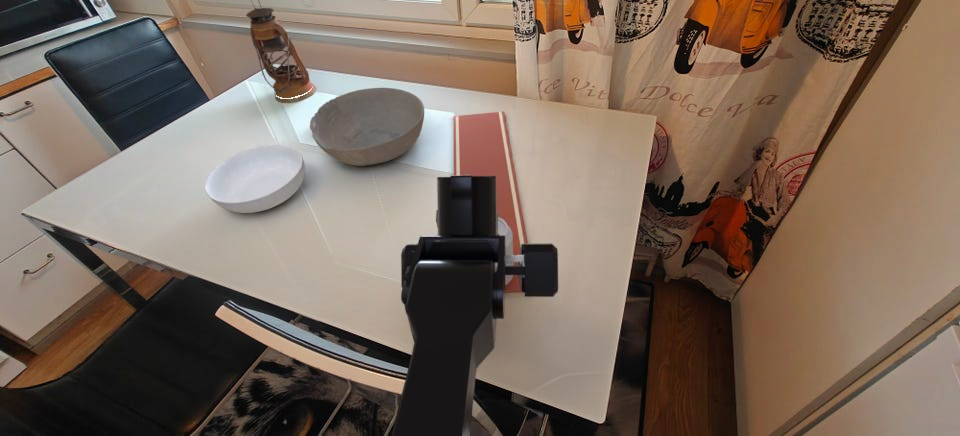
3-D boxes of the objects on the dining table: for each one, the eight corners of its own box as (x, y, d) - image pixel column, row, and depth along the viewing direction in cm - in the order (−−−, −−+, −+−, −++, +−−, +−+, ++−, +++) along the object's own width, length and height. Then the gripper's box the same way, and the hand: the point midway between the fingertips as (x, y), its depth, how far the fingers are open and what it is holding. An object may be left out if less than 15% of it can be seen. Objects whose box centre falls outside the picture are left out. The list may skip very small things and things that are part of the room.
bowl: (322, 132, 112) (308, 99, 105) (418, 110, 117) (411, 77, 110) (325, 192, 93) (309, 157, 86) (441, 163, 98) (434, 127, 91)
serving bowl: (220, 238, 85) (202, 215, 80) (221, 183, 99) (205, 161, 94) (319, 204, 90) (308, 180, 86) (306, 157, 104) (296, 134, 100)
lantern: (328, 86, 133) (291, -16, 112) (303, 105, 125) (258, 0, 104) (288, 81, 138) (246, -17, 118) (261, 99, 130) (210, -2, 109)
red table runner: (535, 290, 69) (535, 289, 69) (454, 297, 70) (454, 296, 70) (503, 112, 112) (503, 111, 112) (453, 117, 113) (453, 116, 113)
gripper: (562, 198, 41) (551, 204, 56) (383, 201, 43) (420, 206, 58) (563, 309, 41) (552, 284, 56) (384, 306, 43) (421, 283, 58)
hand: (485, 262), depth 57 cm, fingers open, 9 cm apart
